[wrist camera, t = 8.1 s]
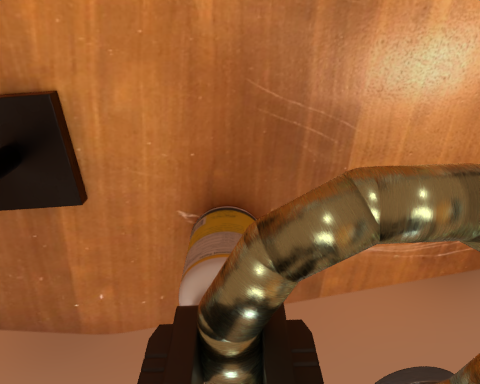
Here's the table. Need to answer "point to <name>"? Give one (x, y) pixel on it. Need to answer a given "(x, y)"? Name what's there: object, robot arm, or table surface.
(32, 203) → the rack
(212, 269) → the pill bottle
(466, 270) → the table surface
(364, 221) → the ring
